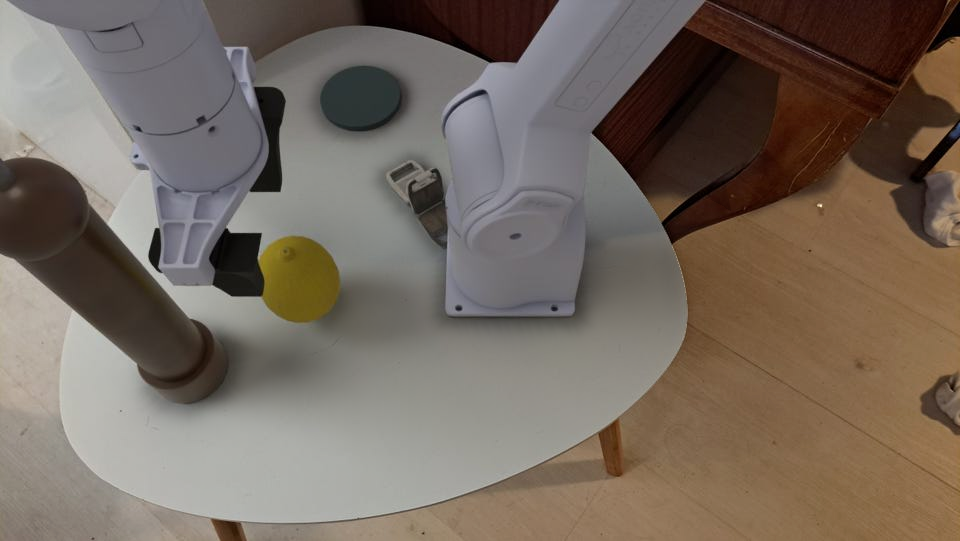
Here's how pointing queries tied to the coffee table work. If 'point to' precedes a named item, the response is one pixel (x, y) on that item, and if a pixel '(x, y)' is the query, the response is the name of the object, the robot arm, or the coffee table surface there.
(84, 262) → the pepper mill
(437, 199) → the strap clip
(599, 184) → the coffee table surface
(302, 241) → the lemon
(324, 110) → the coaster
